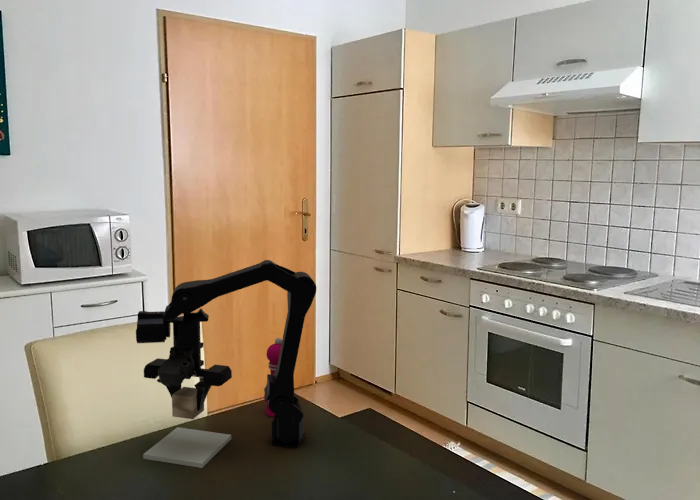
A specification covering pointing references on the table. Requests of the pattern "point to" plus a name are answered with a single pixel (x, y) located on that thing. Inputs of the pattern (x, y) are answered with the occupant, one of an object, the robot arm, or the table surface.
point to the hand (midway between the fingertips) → (188, 408)
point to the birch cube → (185, 403)
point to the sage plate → (188, 447)
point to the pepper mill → (273, 365)
